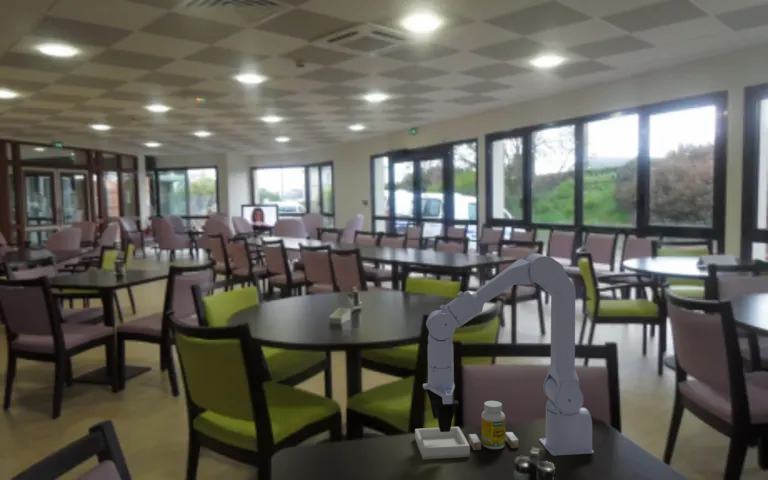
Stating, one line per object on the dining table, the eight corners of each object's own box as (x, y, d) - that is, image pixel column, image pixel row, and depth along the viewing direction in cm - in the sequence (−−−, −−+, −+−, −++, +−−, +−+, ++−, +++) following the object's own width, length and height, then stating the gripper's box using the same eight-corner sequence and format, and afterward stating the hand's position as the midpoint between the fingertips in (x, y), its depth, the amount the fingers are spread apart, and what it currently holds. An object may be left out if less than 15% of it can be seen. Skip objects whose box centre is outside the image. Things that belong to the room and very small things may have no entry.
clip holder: (512, 439, 126) (512, 431, 126) (518, 447, 122) (518, 439, 122) (469, 441, 125) (468, 434, 125) (473, 450, 121) (473, 442, 121)
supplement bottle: (493, 437, 127) (493, 397, 127) (510, 445, 123) (510, 404, 122) (476, 443, 124) (476, 402, 124) (493, 452, 120) (493, 409, 119)
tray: (458, 436, 128) (458, 426, 128) (469, 456, 118) (469, 445, 118) (415, 439, 127) (415, 428, 127) (422, 459, 117) (422, 448, 117)
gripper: (417, 356, 128) (418, 413, 129) (428, 375, 114) (429, 438, 115) (447, 355, 129) (448, 411, 130) (461, 374, 115) (462, 436, 115)
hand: (441, 424), depth 122 cm, fingers open, 7 cm apart
